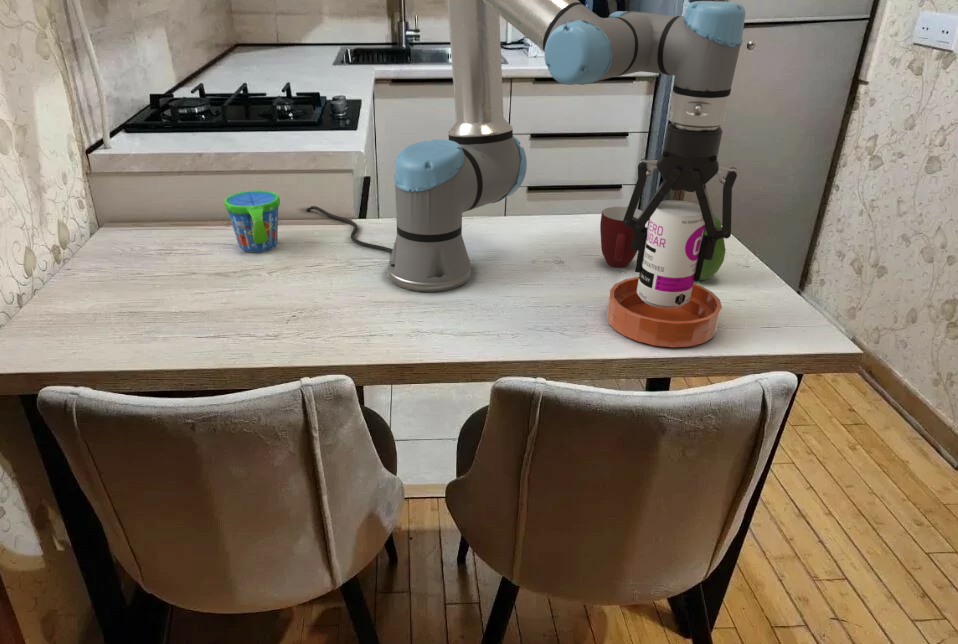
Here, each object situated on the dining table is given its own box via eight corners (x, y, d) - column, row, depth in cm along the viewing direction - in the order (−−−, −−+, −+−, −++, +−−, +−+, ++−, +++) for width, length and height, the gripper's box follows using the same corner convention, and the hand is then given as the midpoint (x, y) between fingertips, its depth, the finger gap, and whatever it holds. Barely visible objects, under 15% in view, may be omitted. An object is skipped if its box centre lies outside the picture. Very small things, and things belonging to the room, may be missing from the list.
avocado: (714, 270, 135) (727, 208, 129) (723, 288, 128) (737, 223, 122) (670, 268, 136) (681, 206, 130) (676, 285, 129) (688, 221, 123)
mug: (643, 279, 132) (651, 227, 127) (598, 277, 133) (604, 225, 128) (636, 256, 141) (643, 207, 136) (594, 255, 142) (600, 205, 137)
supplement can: (698, 298, 115) (718, 207, 108) (674, 315, 110) (692, 221, 102) (652, 283, 120) (667, 195, 112) (626, 299, 115) (641, 208, 107)
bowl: (592, 332, 114) (595, 307, 112) (624, 292, 127) (627, 268, 125) (702, 359, 107) (708, 333, 105) (725, 314, 120) (730, 289, 117)
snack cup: (232, 235, 152) (224, 187, 147) (283, 231, 154) (277, 184, 149) (230, 264, 138) (222, 212, 133) (286, 259, 140) (281, 208, 135)
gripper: (615, 123, 101) (595, 272, 113) (777, 137, 95) (738, 293, 107) (622, 112, 107) (603, 255, 119) (774, 125, 101) (738, 273, 113)
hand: (667, 273), depth 113 cm, fingers closed on supplement can, 8 cm apart
